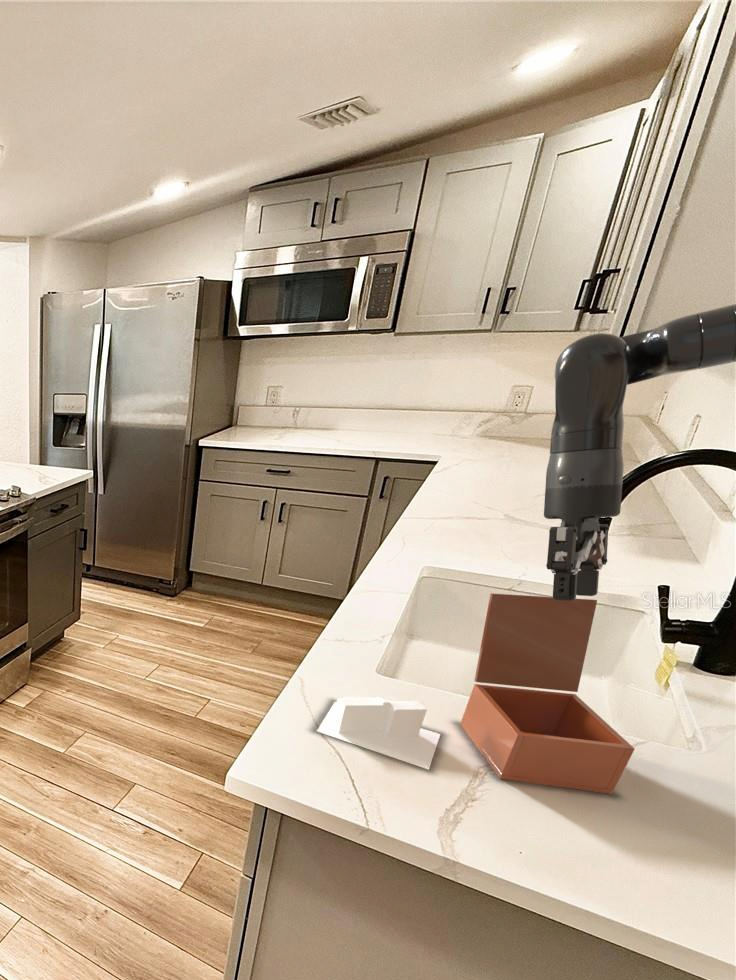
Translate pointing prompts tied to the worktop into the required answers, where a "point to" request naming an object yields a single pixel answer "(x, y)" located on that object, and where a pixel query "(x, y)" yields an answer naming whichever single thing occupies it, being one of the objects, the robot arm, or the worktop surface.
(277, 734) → the worktop surface
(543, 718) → the reddish brown box
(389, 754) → the napkin holder
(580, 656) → the lid
